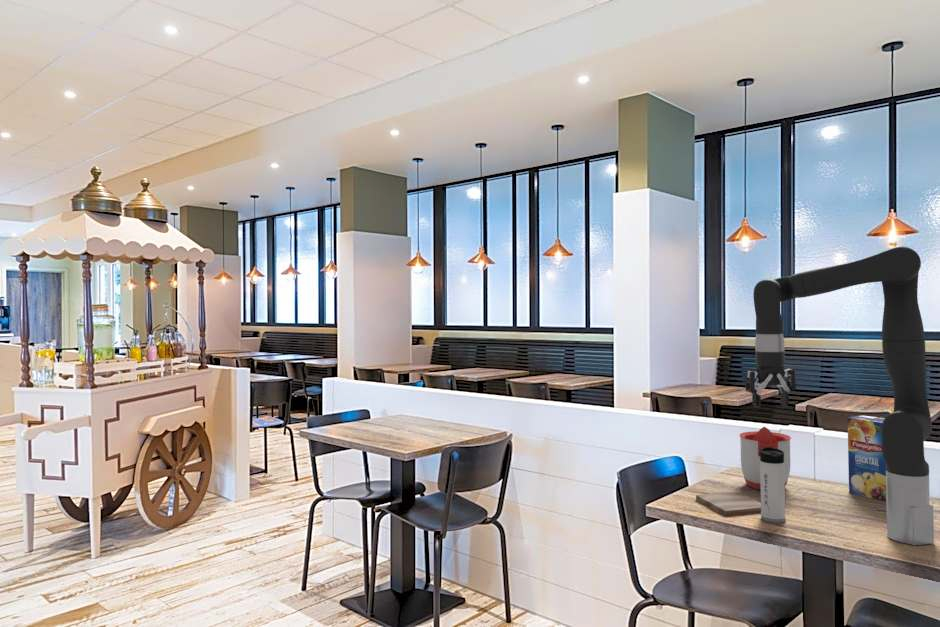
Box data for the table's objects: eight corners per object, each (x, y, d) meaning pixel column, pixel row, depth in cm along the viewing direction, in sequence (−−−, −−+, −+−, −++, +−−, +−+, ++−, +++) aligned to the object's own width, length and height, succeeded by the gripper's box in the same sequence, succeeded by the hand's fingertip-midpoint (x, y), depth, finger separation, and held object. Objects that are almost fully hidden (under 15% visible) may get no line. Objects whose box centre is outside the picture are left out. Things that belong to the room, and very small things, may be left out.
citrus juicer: (743, 493, 208) (742, 431, 208) (738, 478, 224) (736, 421, 224) (797, 496, 203) (795, 433, 203) (787, 481, 220) (786, 423, 220)
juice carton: (901, 498, 198) (900, 420, 198) (886, 502, 195) (885, 423, 195) (863, 488, 209) (861, 415, 209) (848, 492, 206) (847, 417, 206)
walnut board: (768, 511, 189) (768, 506, 189) (725, 516, 187) (725, 510, 187) (736, 496, 205) (736, 491, 205) (696, 499, 202) (696, 495, 202)
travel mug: (780, 515, 186) (778, 446, 186) (789, 523, 179) (787, 451, 179) (757, 515, 186) (756, 446, 186) (765, 523, 180) (764, 452, 180)
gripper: (755, 351, 178) (756, 410, 178) (801, 349, 180) (802, 407, 180) (739, 349, 185) (740, 406, 185) (783, 347, 188) (784, 403, 188)
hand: (771, 406), depth 183 cm, fingers open, 8 cm apart
